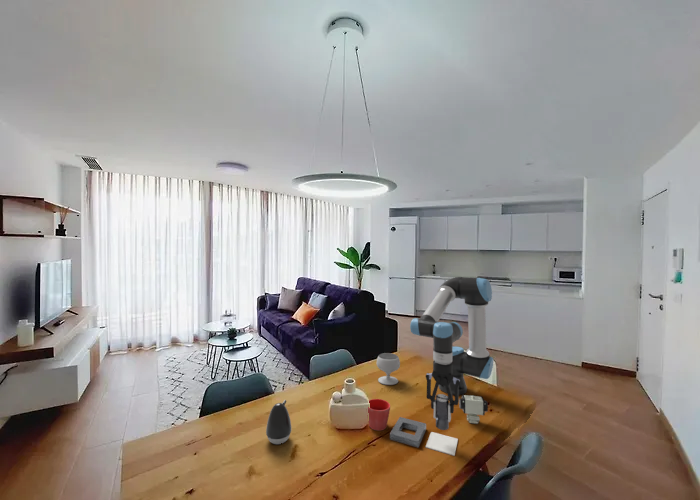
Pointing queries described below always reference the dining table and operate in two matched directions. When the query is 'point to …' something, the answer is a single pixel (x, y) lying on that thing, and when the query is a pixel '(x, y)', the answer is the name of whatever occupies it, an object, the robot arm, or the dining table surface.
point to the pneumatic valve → (473, 407)
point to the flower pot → (378, 414)
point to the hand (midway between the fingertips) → (442, 418)
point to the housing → (406, 437)
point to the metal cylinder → (442, 412)
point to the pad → (442, 443)
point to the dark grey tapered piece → (278, 424)
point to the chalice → (388, 367)
